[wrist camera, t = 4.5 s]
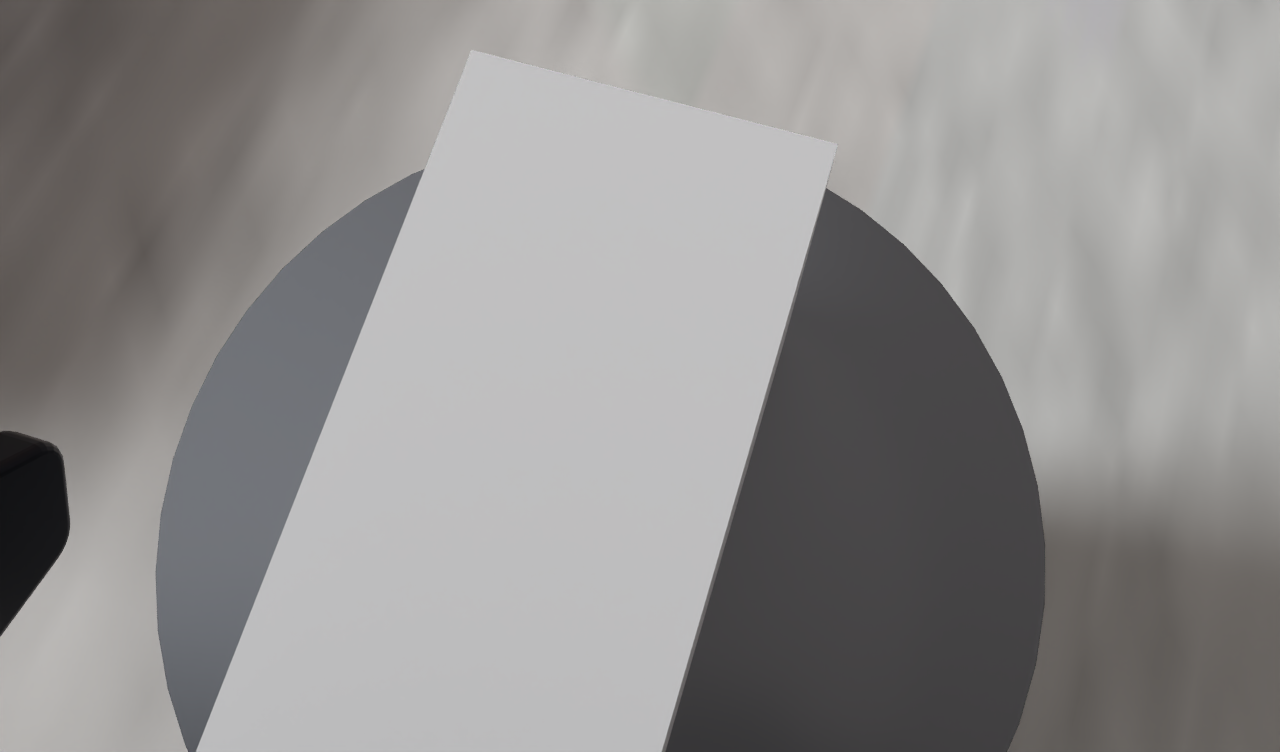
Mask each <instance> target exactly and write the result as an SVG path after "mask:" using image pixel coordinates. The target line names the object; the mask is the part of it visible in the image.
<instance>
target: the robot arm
mask: <svg viewBox="0 0 1280 752" xmlns="http://www.w3.org/2000/svg"><path fill="white" fill-rule="evenodd" d="M69 530H70V515H69V506H68V496H67V487H66V477H65V468H64V460H63V456H62V454H61V452H60V451H59V449H58V448H57V446H55V445H53V444H52V443H50V442H47V441H44V440H41V439H38V438H34V437H31V436H28V435H25V434H21V433H18V432H12V431H2V432H0V636H1V635H2V634H3V632H4V631H5V630H6V628H7V627H8V626H9V624H10V623H11V621H12V620H13V619H14V617H15V616H16V615H17V613H18V612H19V611H20V609H21V608H22V606H23V605H24V604H25V602H26V601H27V600H28V598H29V597H30V596H31V594H32V593H33V591H34V590H35V589H36V587H37V586H38V585H39V583H40V582H41V581H42V579H43V578H44V577H45V575H46V574H47V572H48V571H49V570H50V568H51V567H52V566H53V564H54V563H55V562H56V560H57V559H58V557H59V556H60V554H61V553H62V551H63V549H64V547H65V545H66V542H67V539H68V536H69Z"/></svg>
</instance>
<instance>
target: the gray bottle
mask: <svg viewBox="0 0 1280 752" xmlns="http://www.w3.org/2000/svg"><path fill="white" fill-rule="evenodd" d="M837 146H838V144H837V143H833V142H829V141H825V140H821V139H817V138H813V137H810V136H806V135H802V134H798V133H794V132H790V131H786V130H782V129H778V128H775V127H771V126H767V125H763V124H759V123H755V122H751V121H747V120H743V119H739V118H736V117H732V116H728V115H724V114H720V113H716V112H712V111H708V110H704V109H701V108H697V107H693V106H689V105H685V104H681V103H677V102H673V101H669V100H666V99H662V98H658V97H654V96H650V95H646V94H642V93H638V92H634V91H631V90H627V89H623V88H619V87H615V86H611V85H607V84H603V83H599V82H596V81H592V80H588V79H584V78H580V77H576V76H572V75H568V74H564V73H561V72H557V71H553V70H549V69H545V68H541V67H537V66H533V65H529V64H526V63H522V62H518V61H514V60H510V59H506V58H502V57H498V56H494V55H490V54H487V53H483V52H479V51H475V50H471V52H470V55H469V57H468V60H467V62H466V65H465V67H464V70H463V73H462V75H461V78H460V80H459V83H458V85H457V88H456V90H455V93H454V95H453V98H452V101H451V103H450V106H449V108H448V111H447V113H446V116H445V118H444V121H443V123H442V126H441V129H440V131H439V134H438V136H437V139H436V141H435V144H434V146H433V149H432V151H431V154H430V157H429V159H428V162H427V164H426V167H425V169H423V170H421V171H419V172H416V173H414V174H411V175H410V176H408V177H406V178H404V179H403V180H401V181H399V182H397V183H395V184H394V185H392V186H390V187H388V188H387V189H385V190H383V191H381V192H380V193H378V194H376V195H374V196H372V197H371V198H369V199H367V200H365V201H364V202H363V203H361V204H360V205H358V206H357V207H356V208H354V209H353V210H352V211H350V212H349V213H347V214H346V215H345V216H343V217H342V218H341V219H339V220H338V221H336V222H335V223H334V224H332V225H331V226H330V227H328V228H327V229H326V230H324V231H323V232H322V233H320V234H319V235H318V236H317V237H316V238H315V239H314V240H313V241H312V242H311V243H310V244H309V245H308V246H306V247H305V248H304V249H303V250H302V251H301V252H300V253H299V254H298V255H297V256H296V257H295V258H294V259H292V260H291V261H290V262H289V263H288V264H287V265H286V266H285V267H284V268H283V269H282V270H281V271H280V272H279V273H278V275H277V276H276V277H275V278H274V279H273V281H272V282H271V283H270V284H269V285H268V286H267V288H266V289H265V290H264V291H263V292H262V293H261V295H260V296H259V297H258V298H257V299H256V301H255V302H254V303H253V304H252V305H251V306H250V308H249V309H248V310H247V311H246V313H245V314H244V316H243V317H242V319H241V320H240V322H239V323H238V325H237V326H236V328H235V330H234V331H233V333H232V334H231V336H230V337H229V339H228V340H227V342H226V343H225V345H224V346H223V348H222V349H221V351H220V352H219V354H218V355H217V357H216V359H215V361H214V363H213V365H212V367H211V369H210V371H209V373H208V375H207V377H206V379H205V381H204V383H203V385H202V387H201V389H200V391H199V393H198V395H197V397H196V399H195V401H194V403H193V405H192V407H191V410H190V413H189V416H188V419H187V421H186V424H185V427H184V430H183V433H182V436H181V438H180V441H179V444H178V447H177V450H176V452H175V455H174V458H173V462H172V467H171V471H170V476H169V480H168V485H167V489H166V494H165V498H164V503H163V507H162V512H161V519H160V530H159V541H158V552H157V563H156V594H157V620H158V634H159V640H160V646H161V652H162V657H163V663H164V669H165V675H166V681H167V687H168V691H169V694H170V697H171V701H172V704H173V707H174V710H175V713H176V717H177V720H178V723H179V726H180V729H181V733H182V736H183V739H184V742H185V745H186V748H187V750H188V752H1007V750H1008V748H1009V746H1010V743H1011V741H1012V739H1013V737H1014V734H1015V732H1016V730H1017V727H1018V725H1019V722H1020V719H1021V715H1022V712H1023V708H1024V705H1025V701H1026V698H1027V694H1028V691H1029V687H1030V683H1031V680H1032V676H1033V673H1034V669H1035V666H1036V660H1037V653H1038V646H1039V639H1040V632H1041V625H1042V618H1043V611H1044V599H1045V541H1044V533H1043V525H1042V517H1041V509H1040V500H1039V492H1038V485H1037V481H1036V478H1035V474H1034V470H1033V466H1032V462H1031V458H1030V454H1029V451H1028V447H1027V443H1026V439H1025V435H1024V431H1023V428H1022V426H1021V423H1020V421H1019V418H1018V416H1017V414H1016V411H1015V409H1014V406H1013V404H1012V401H1011V399H1010V396H1009V394H1008V391H1007V389H1006V386H1005V384H1004V381H1003V379H1002V377H1001V375H1000V373H999V371H998V369H997V368H996V366H995V364H994V362H993V361H992V359H991V357H990V355H989V353H988V352H987V350H986V348H985V346H984V345H983V343H982V341H981V339H980V337H979V336H978V334H977V332H976V330H975V328H974V327H973V326H972V324H971V323H970V322H969V320H968V319H967V318H966V316H965V315H964V314H963V312H962V311H961V310H960V308H959V307H958V305H957V304H956V303H955V301H954V300H953V299H952V297H951V296H950V295H949V293H948V292H947V291H946V289H945V288H944V287H943V285H942V284H941V283H940V282H939V281H938V280H937V279H936V278H935V277H934V276H933V275H932V273H931V272H930V271H929V270H928V269H927V268H926V267H925V266H924V265H923V264H922V263H921V262H920V261H919V260H918V259H917V258H916V257H915V256H914V255H913V254H912V253H911V252H910V251H909V249H908V248H907V247H906V246H905V245H904V244H903V243H901V242H900V241H899V240H898V239H896V238H895V237H894V236H893V235H891V234H890V233H889V232H888V231H887V230H885V229H884V228H883V227H882V226H880V225H879V224H878V223H877V222H875V221H874V220H873V219H872V218H871V217H869V216H868V215H867V214H866V213H864V212H863V211H862V210H860V209H859V208H857V207H856V206H854V205H852V204H851V203H849V202H848V201H846V200H844V199H843V198H841V197H840V196H838V195H836V194H835V193H833V192H832V191H830V190H828V189H827V188H826V186H827V183H828V179H829V175H830V172H831V168H832V164H833V161H834V157H835V153H836V150H837Z"/></svg>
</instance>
